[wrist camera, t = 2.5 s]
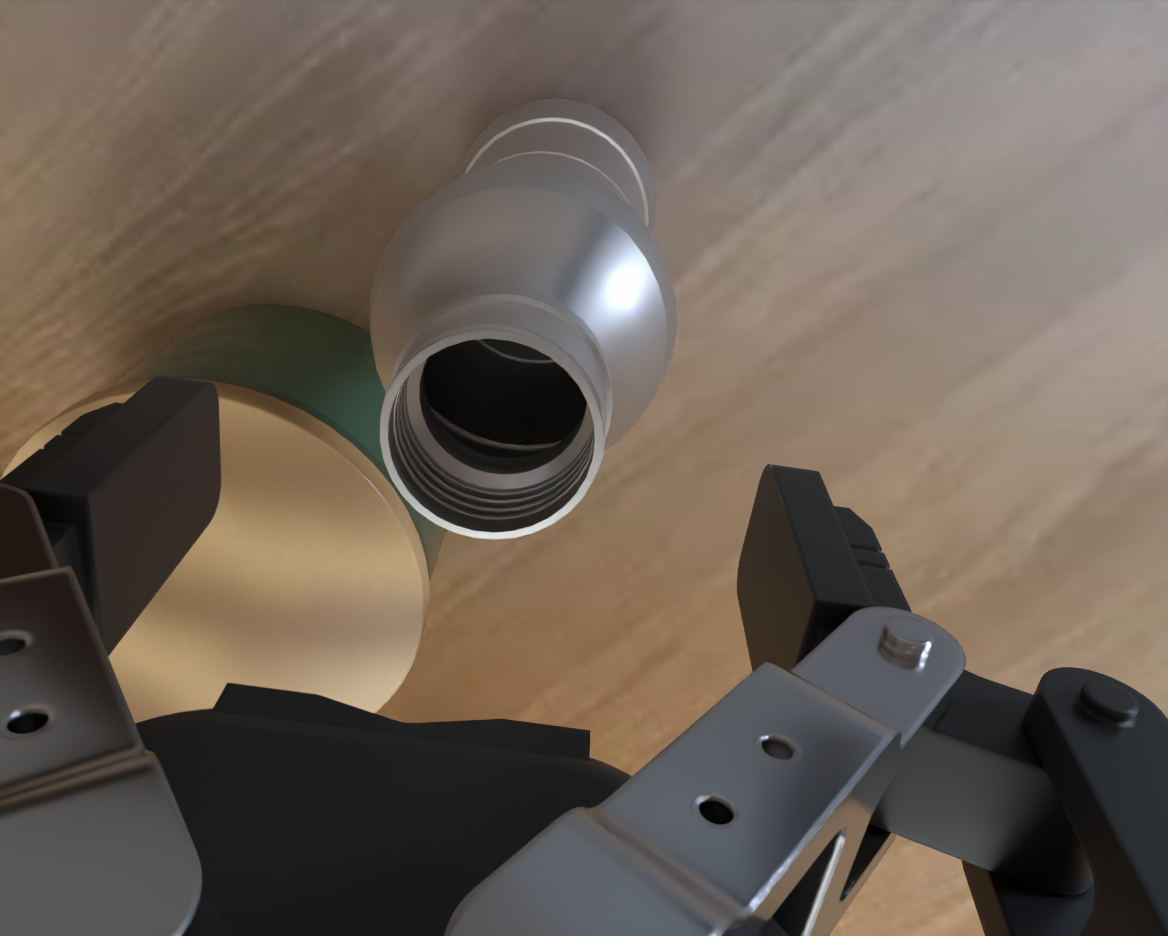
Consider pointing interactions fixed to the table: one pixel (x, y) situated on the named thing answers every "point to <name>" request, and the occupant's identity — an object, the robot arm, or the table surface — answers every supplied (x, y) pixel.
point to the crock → (280, 524)
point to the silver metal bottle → (521, 321)
